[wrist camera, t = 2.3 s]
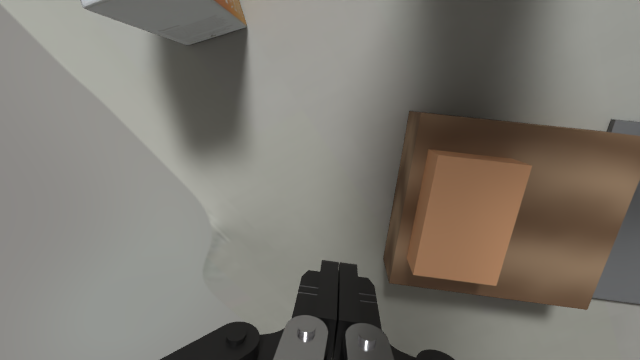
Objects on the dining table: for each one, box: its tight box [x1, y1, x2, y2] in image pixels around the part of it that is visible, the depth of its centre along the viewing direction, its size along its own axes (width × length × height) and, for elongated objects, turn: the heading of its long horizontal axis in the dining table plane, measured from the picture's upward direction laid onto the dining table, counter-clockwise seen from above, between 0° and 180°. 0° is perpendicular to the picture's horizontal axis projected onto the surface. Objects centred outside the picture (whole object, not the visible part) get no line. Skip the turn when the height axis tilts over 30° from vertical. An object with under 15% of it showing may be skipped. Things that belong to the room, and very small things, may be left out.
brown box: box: [383, 111, 640, 310], centre depth 25 cm, size 14×16×4 cm
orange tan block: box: [407, 149, 532, 286], centre depth 22 cm, size 9×6×2 cm, turn 174°
